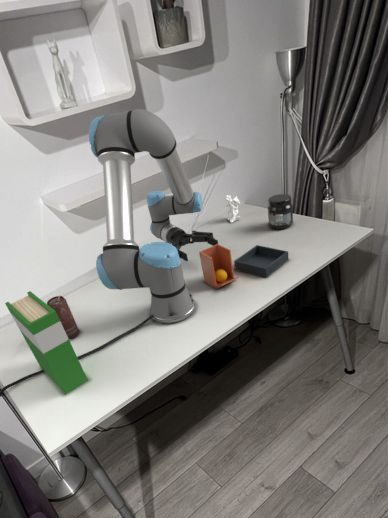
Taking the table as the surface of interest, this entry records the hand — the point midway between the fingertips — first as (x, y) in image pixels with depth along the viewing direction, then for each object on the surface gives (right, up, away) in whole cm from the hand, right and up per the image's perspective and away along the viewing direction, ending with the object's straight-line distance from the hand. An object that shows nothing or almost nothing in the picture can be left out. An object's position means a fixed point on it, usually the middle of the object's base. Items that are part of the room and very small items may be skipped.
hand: (202, 250), depth 147 cm
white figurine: (+16, +25, +42) cm, 51 cm away
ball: (+7, -10, -4) cm, 12 cm away
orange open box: (+7, -12, -2) cm, 14 cm away
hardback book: (-42, -44, -28) cm, 67 cm away
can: (-45, -31, -11) cm, 56 cm away
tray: (+22, -5, +3) cm, 23 cm away
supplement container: (+35, +18, +28) cm, 48 cm away
